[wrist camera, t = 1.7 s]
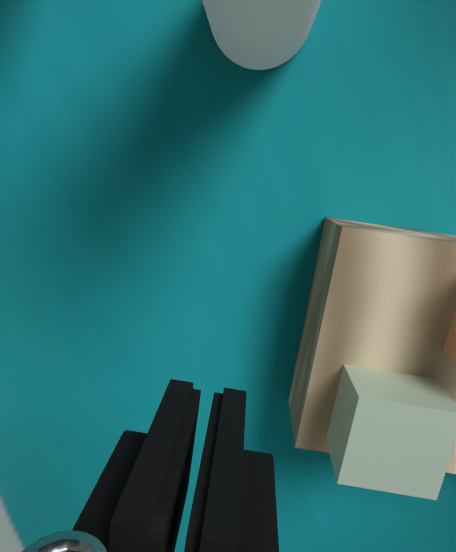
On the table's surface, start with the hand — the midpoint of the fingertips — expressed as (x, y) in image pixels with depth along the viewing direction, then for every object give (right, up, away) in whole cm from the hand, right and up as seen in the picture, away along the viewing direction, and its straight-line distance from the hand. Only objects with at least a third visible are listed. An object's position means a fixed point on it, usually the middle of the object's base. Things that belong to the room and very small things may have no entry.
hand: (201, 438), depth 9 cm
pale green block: (+11, -5, +17) cm, 21 cm away
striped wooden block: (+14, 0, +22) cm, 26 cm away
